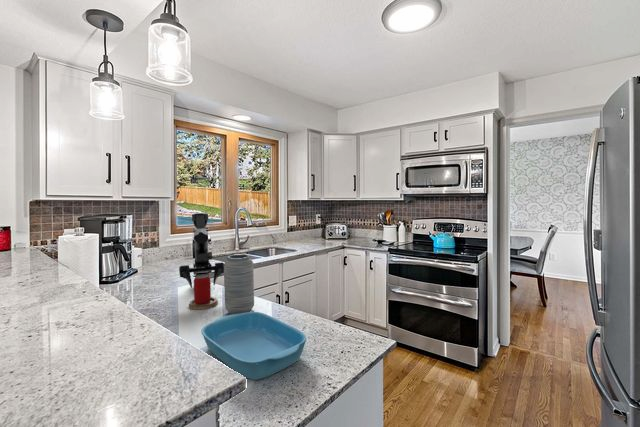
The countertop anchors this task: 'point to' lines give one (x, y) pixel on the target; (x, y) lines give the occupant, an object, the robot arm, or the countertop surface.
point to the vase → (239, 284)
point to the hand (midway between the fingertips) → (202, 286)
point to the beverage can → (202, 289)
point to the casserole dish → (254, 343)
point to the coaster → (205, 306)
